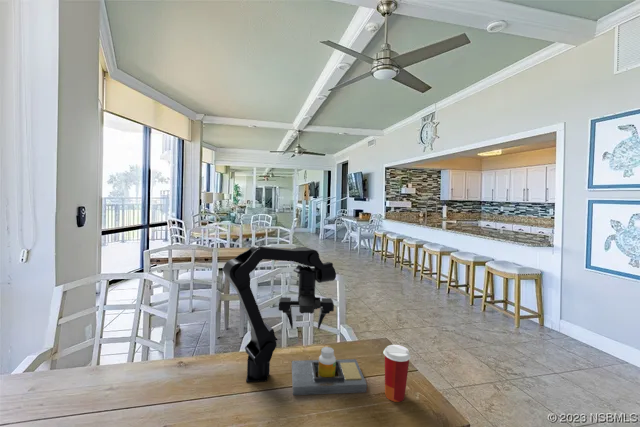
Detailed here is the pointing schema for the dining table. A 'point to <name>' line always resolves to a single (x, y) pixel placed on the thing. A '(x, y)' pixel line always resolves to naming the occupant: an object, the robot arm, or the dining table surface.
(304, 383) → the grey base block
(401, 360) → the paper cup
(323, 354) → the supplement bottle
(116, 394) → the dining table surface
